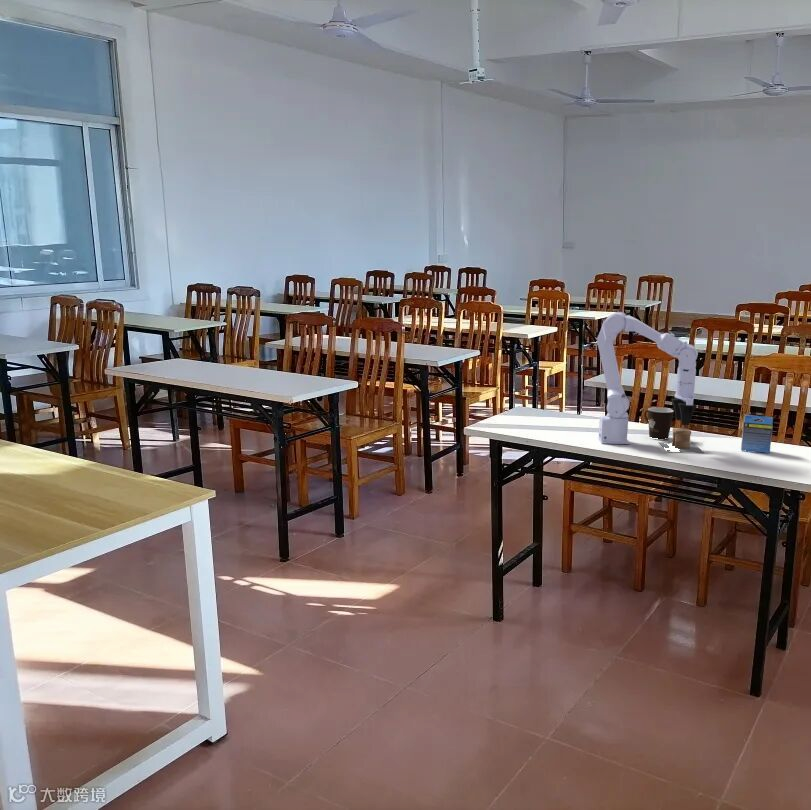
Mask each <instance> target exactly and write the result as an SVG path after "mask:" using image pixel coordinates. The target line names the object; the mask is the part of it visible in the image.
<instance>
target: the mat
mask: <svg viewBox="0 0 811 810" xmlns="http://www.w3.org/2000/svg"><path fill="white" fill-rule="evenodd" d="M658 443H659V444H660V445H661V446H662V447H663V448H664V447H665V448H669V446H668V445H667V444H664V443H667V442H661V441H659V442H657V444H658ZM659 444H658V445H659ZM660 445H659V446H660ZM661 446H660V447H661ZM662 447H661V448H662ZM663 448H662V449H663ZM667 451H670V450H667ZM679 451H680V452H696V453H695V454H705V452H704V451H703V449H701V448H700V446H699V445H697V444H695V443H694V442H690V447H689V449H680V450H679Z"/></svg>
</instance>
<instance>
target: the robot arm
mask: <svg viewBox="0 0 811 810" xmlns="http://www.w3.org/2000/svg"><path fill="white" fill-rule="evenodd" d="M606 317H607V318H605V319H604V320H603V322H602V325H601V328H600V331H599V332H598V335H597V338H596V342H597V348H598V351H599V357H600V361H601V366H602V370H603V375H604V380H605V385H606V390H607V396H606V397H607V405H606V411H607V414H606V415H601V416H600V417H599V422H598V424H599V425H598V426H599V427H598V437H597V438H598V440H599V441H600V443H601V444H606V445H607V444H609V445H611V444H613V445H614V444H615V445H619V444H620V445H630V444H631V443H630V441H629V440H628V429H629V418H630V417H629V414H628V413H627V411H628V410H629V408H630V405H631V403H630V400H629V398H628V397H627V395H626V393H625V389H624V388H623V386H622V380H621V376H620V371H619V366H618V362H617V357H616V351H615V347H614V340H616V337H618V335H619V334H620V333H621V332H623V331H624V332H635V333H637V334H640V335H641V336H643V337H645V338H647V339H649V340H651V341H653V342H655V343H656V347H657V348H658V349H659V350H661V351H663V352H665V353H667V354H668V355H670V356H671V357H673V358H677V360H678V367H677V371H676V372H677V374H676V383H675V385H676V386H675V394H674V398H671V402H672V404H673V409H674V416H675V420H676V421H681V425H682V426H690V424H691V423H690V422H691V420H692V417H693V414H694V412H695V411H696V409H697V408H698V405H697V404H694V399H698V395H696V394H695V385H696V375H697V369H696V367H697V361H696V360H697V358H698V355H699V353H698V350H697V348H696V346H694V345H693V344H688V341H683V340H681V339H679V338H677V337H676V336H675V334H674V333H672V332H671V333H668V332H665V333H660V332H659V331H657V330H656V329H654V328H653V327H651V326H649V325H648V324H646V323H644V322H643V321H641V320H639V319H637V318H636V317H633V316H631V315H629V314H628V315H627V313H625V312H623V311H617V312H614V313H612V314H609V315H608V316H606Z"/></svg>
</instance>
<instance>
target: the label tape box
mask: <svg viewBox="0 0 811 810" xmlns="http://www.w3.org/2000/svg"><path fill="white" fill-rule="evenodd" d="M758 419H759V420H760V421H759V420H758ZM756 420H758V421H756ZM773 420H774V417H772V416H764V415H762V416H761V415H751V414H744V419H743V425H742V432H741V433H742V436H741V447H740V451H741V450H746V451H745V452H748V451H758V452H757V453H760V452H766V453H765V454H770V453H771V444H772V437H773V436H772V435H773V427H774V426H773Z"/></svg>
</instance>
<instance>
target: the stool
mask: <svg viewBox="0 0 811 810" xmlns="http://www.w3.org/2000/svg"><path fill="white" fill-rule="evenodd" d="M691 435H692V430H691V429H689V428H688V427H687V428H686V427H672V441H671V443H672V446H675V448H678V449H689V447H690V443H691Z"/></svg>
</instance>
